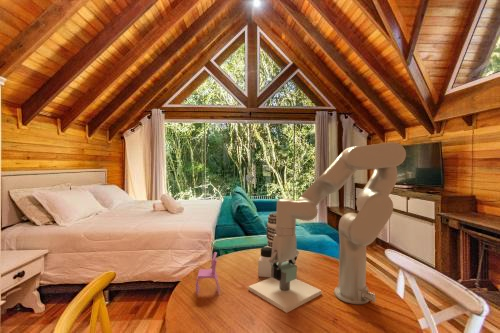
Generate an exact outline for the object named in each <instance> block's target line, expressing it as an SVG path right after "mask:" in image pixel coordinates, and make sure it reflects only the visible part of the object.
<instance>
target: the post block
mask: <svg viewBox="0 0 500 333" xmlns="http://www.w3.org/2000/svg"><path fill="white" fill-rule="evenodd" d="M247 289H248V291H249V292H251V293H252V294H255V295H256V296H258V297H259V298H260V299H263V300H265V301H266V302H268V303H269V304H271V305H273V306H275V307H276V308H278V309H280V310H281V311H283V312H284V313H286V314H288V313H289V312H291V311H293V310H295V309H296V308H298V307H301V306H302V305H304V304H306V303H308V302H310V301H312V300H313V299H315V298H317V297H319V296H321V295H322V290H321V289H319V288H317V287H315V286H314V285H313V286H312V285H311V284H308V283H306V282H303V281H302V280H299V279H295V280H292V281H290V282H287V283H285V284H284V283H282V282H280V281H278V280H276V279H274V278H272V277H271V278H268V277H267V278H266V279H263V280H261V281H258V282H256V283H253V284H250V285H248V288H247Z"/></svg>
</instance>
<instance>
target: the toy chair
mask: <svg viewBox="0 0 500 333" xmlns="http://www.w3.org/2000/svg"><path fill="white" fill-rule="evenodd" d="M217 254H218V252H216V251H214V252H213V255H212V258H211V262H210V265H211V266H210V269H207V268H200V269H199V270H198V273H197V276H196V282H195V290H196V291H195V292H196V296H197V297H198V296H199V291H200V285H199V280H200V279H214V280H215V283H216V288H217V295H219V296H220V285H219V279H218V274H217V271H216V269H217V268H216V267H217V256H218V255H217Z"/></svg>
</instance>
